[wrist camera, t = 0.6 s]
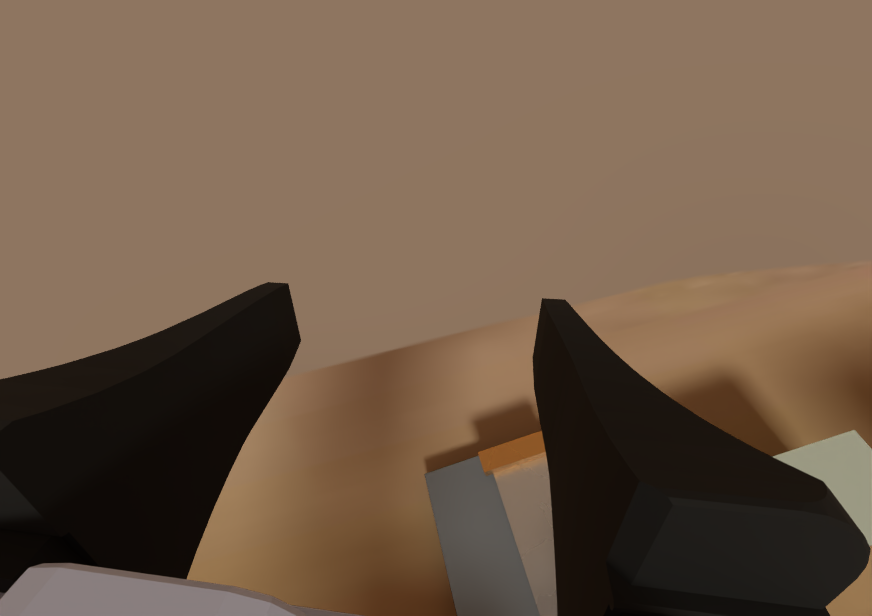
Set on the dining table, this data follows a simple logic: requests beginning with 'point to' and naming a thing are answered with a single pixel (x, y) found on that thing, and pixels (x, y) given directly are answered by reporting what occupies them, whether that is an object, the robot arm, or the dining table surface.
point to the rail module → (841, 473)
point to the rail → (528, 510)
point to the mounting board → (478, 543)
